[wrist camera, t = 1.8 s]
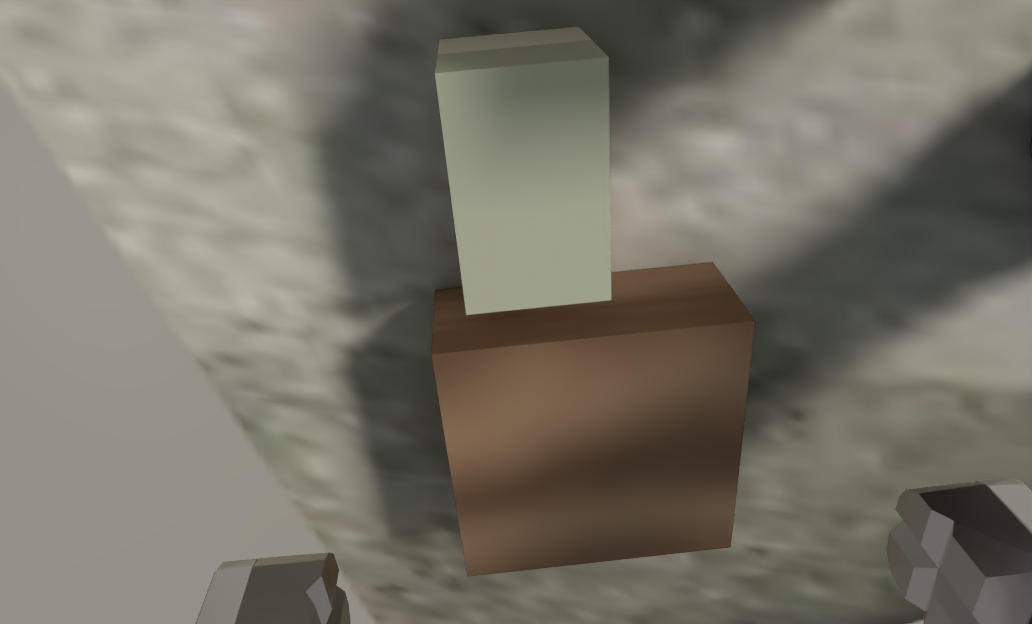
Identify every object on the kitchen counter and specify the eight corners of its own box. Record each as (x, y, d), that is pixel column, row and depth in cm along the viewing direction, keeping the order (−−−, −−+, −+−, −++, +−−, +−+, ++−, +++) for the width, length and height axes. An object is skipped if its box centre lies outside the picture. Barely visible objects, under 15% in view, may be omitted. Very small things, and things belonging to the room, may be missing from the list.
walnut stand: (434, 290, 30) (431, 354, 26) (712, 262, 30) (755, 321, 26) (466, 496, 36) (467, 576, 32) (698, 471, 36) (730, 547, 32)
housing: (439, 39, 25) (434, 73, 20) (578, 26, 25) (608, 56, 20) (464, 242, 29) (466, 314, 24) (584, 230, 29) (611, 300, 24)
